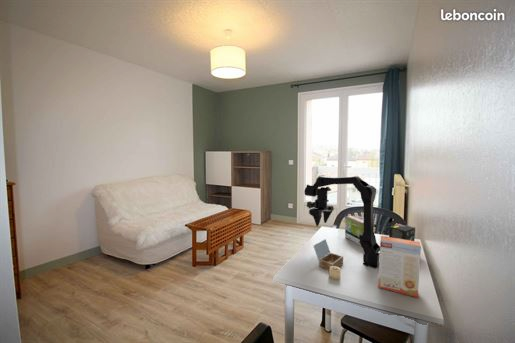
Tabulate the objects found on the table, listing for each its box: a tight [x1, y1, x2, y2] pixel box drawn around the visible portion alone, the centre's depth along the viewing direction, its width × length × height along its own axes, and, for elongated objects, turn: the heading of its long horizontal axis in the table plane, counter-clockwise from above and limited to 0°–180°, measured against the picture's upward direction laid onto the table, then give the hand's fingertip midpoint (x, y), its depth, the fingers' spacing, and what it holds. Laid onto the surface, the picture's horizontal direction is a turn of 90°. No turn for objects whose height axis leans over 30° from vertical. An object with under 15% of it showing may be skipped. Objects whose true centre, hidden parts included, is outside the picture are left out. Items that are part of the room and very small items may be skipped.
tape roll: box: [328, 266, 342, 281], centre depth 107 cm, size 5×5×4 cm
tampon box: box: [388, 223, 416, 241], centre depth 136 cm, size 11×9×15 cm
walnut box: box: [318, 252, 344, 271], centre depth 119 cm, size 7×12×4 cm, turn 137°
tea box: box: [344, 214, 375, 247], centre depth 152 cm, size 15×10×15 cm
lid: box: [313, 239, 331, 261], centre depth 122 cm, size 7×12×1 cm
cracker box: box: [378, 235, 422, 298], centre depth 97 cm, size 14×6×21 cm, turn 59°
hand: (321, 224), depth 138 cm, fingers open, 9 cm apart
